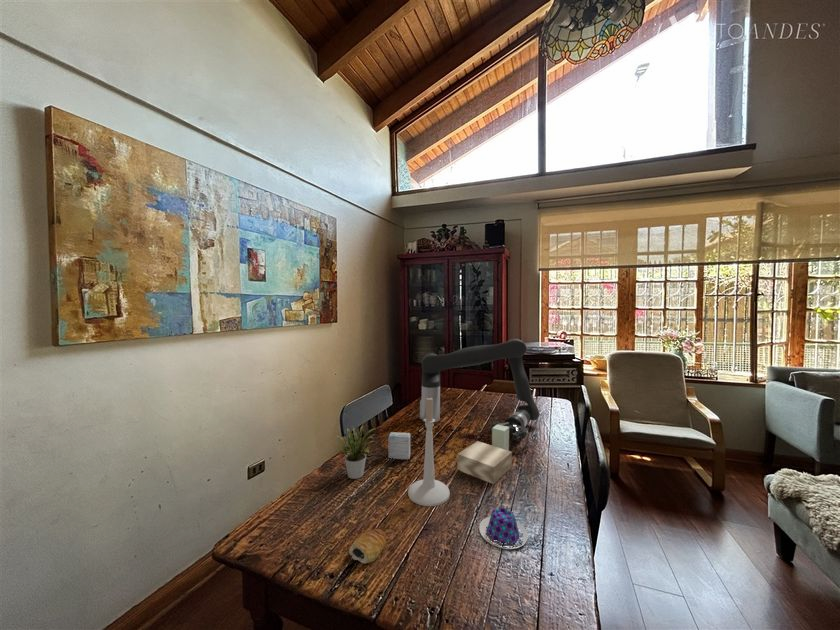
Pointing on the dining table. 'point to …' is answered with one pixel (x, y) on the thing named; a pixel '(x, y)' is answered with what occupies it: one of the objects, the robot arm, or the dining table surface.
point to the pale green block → (500, 437)
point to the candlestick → (429, 471)
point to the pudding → (502, 527)
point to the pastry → (368, 546)
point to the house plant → (356, 453)
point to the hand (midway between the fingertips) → (503, 435)
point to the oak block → (484, 461)
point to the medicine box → (399, 445)
